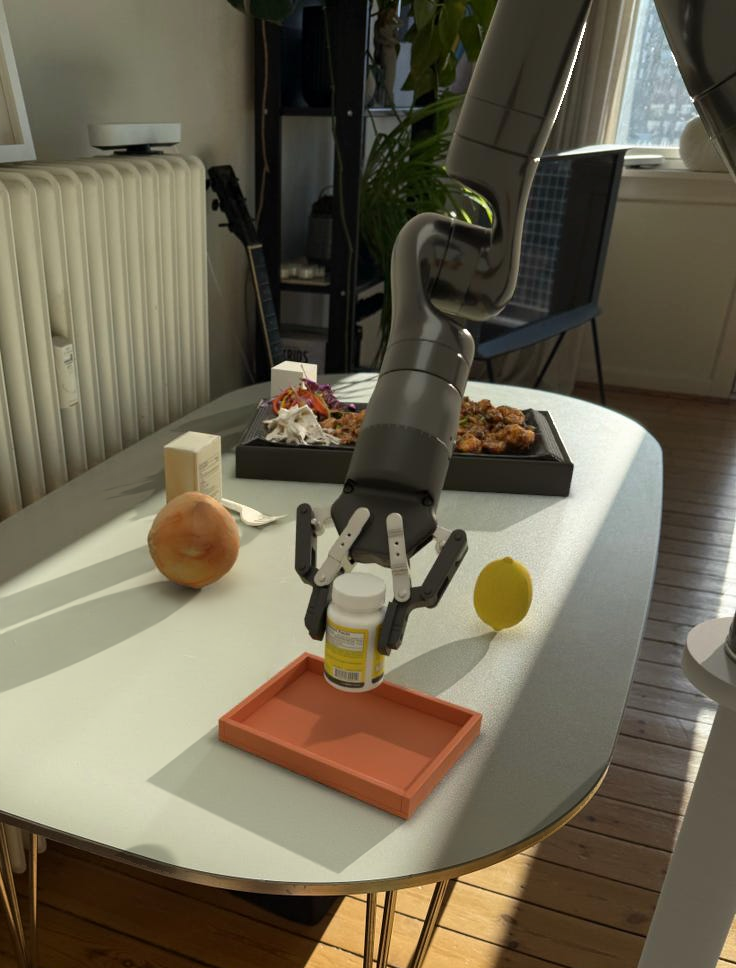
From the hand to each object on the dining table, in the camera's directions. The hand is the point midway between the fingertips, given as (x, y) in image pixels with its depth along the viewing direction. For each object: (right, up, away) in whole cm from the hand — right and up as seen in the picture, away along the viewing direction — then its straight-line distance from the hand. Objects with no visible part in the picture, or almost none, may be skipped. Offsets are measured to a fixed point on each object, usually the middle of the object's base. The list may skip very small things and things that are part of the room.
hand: (349, 644), depth 70 cm
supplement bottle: (+1, -3, +4) cm, 5 cm away
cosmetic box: (-14, +12, +41) cm, 45 cm away
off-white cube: (-1, +42, +93) cm, 102 cm away
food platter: (+14, +27, +67) cm, 74 cm away
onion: (-14, +6, +31) cm, 34 cm away
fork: (-11, +17, +49) cm, 53 cm away
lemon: (+17, +1, +22) cm, 28 cm away
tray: (+1, -8, +6) cm, 10 cm away
